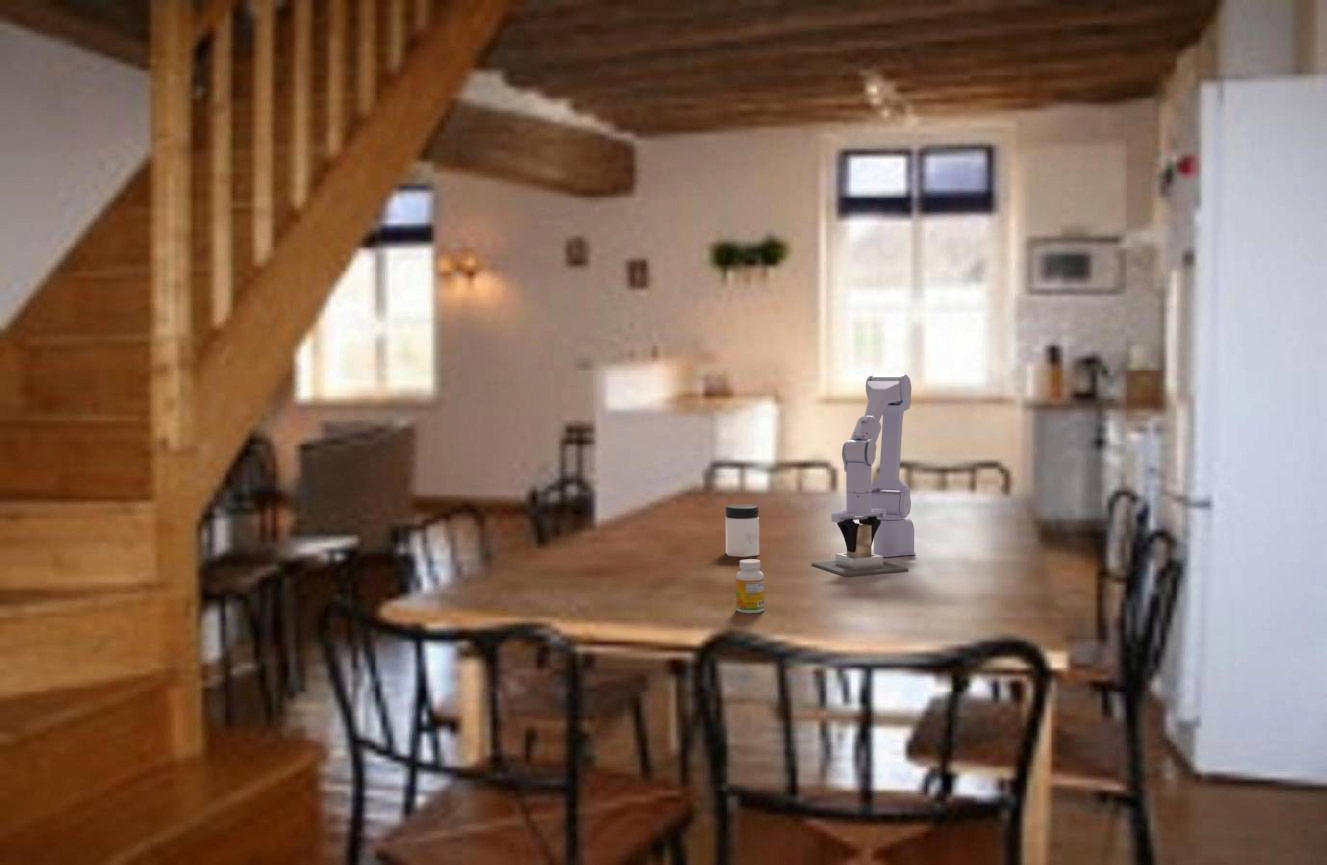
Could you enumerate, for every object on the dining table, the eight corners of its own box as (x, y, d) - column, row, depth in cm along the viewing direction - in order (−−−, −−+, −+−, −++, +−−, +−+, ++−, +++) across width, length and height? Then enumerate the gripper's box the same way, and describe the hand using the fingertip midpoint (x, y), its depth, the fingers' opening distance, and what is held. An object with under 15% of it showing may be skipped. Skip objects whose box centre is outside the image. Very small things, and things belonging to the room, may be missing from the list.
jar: (738, 558, 283) (737, 509, 283) (718, 553, 290) (717, 506, 289) (766, 554, 288) (766, 506, 287) (746, 550, 295) (746, 503, 294)
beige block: (860, 557, 271) (860, 523, 270) (871, 560, 267) (871, 525, 267) (846, 559, 269) (846, 524, 268) (857, 561, 265) (857, 526, 265)
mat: (871, 560, 278) (870, 557, 278) (908, 571, 263) (908, 568, 263) (811, 565, 273) (811, 562, 272) (846, 576, 258) (846, 574, 258)
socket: (865, 561, 273) (865, 550, 273) (882, 566, 266) (882, 556, 266) (835, 564, 270) (835, 553, 270) (853, 569, 263) (853, 558, 263)
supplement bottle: (734, 608, 227) (734, 558, 227) (761, 607, 228) (761, 557, 227) (738, 614, 222) (738, 563, 221) (766, 613, 222) (766, 562, 222)
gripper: (871, 488, 274) (872, 545, 275) (822, 492, 267) (823, 551, 268) (892, 491, 268) (892, 549, 269) (842, 495, 261) (842, 555, 261)
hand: (859, 550), depth 268 cm, fingers closed on beige block, 4 cm apart
